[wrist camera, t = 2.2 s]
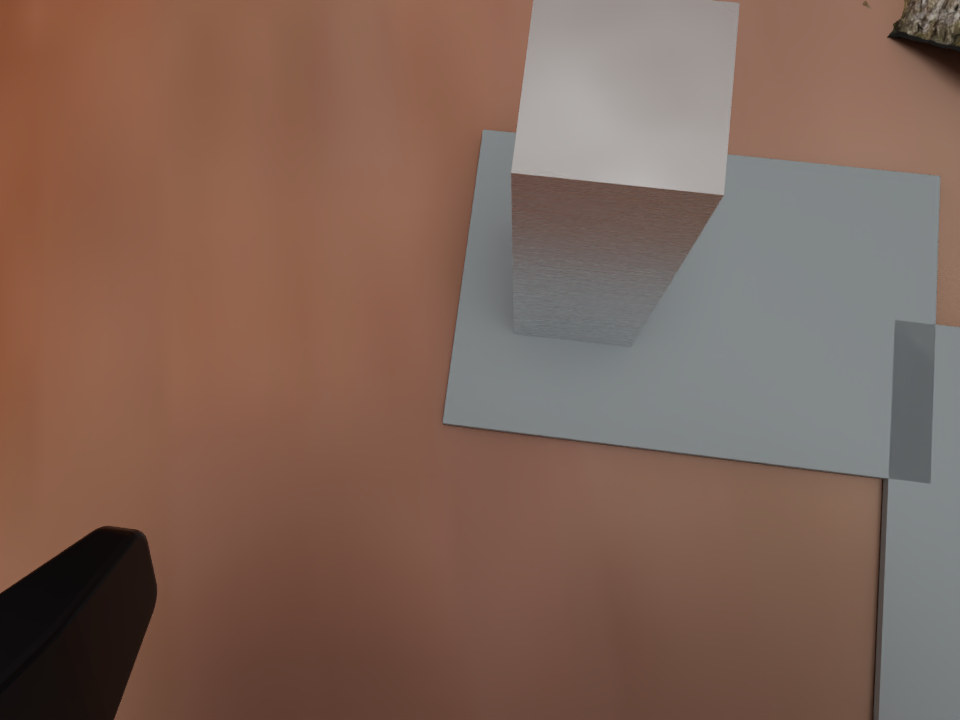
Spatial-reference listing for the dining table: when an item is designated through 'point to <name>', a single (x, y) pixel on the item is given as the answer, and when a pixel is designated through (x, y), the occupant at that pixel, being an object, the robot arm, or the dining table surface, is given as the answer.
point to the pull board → (716, 301)
